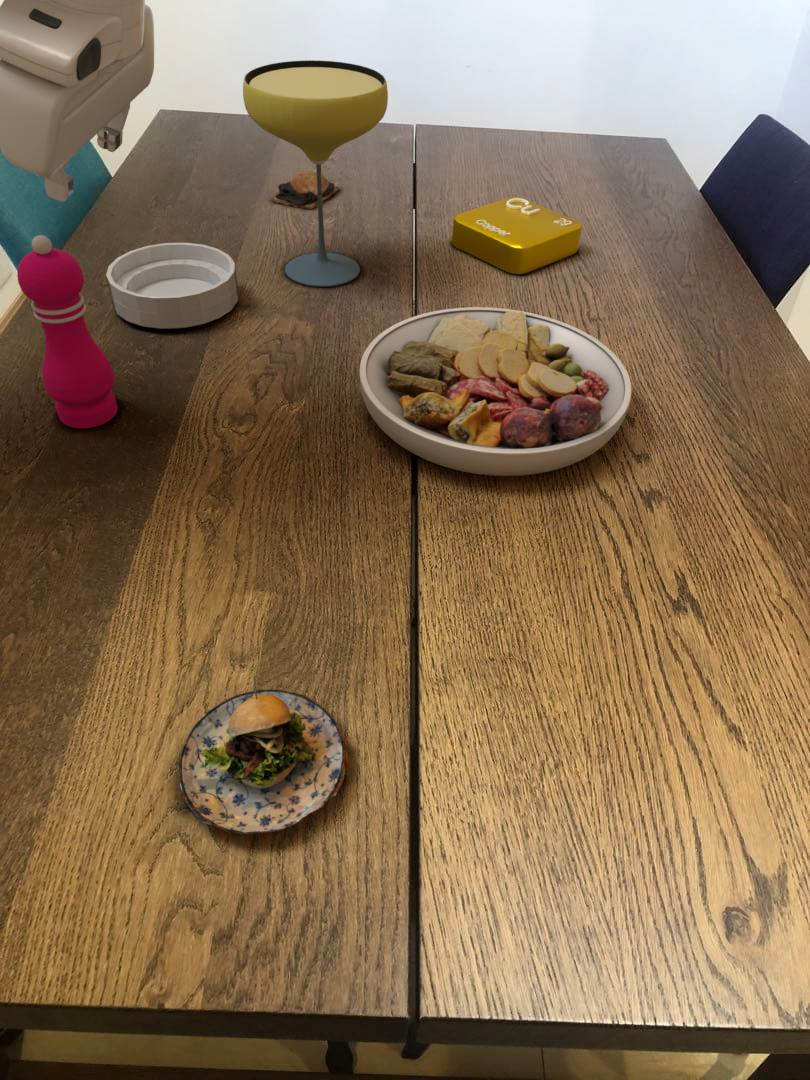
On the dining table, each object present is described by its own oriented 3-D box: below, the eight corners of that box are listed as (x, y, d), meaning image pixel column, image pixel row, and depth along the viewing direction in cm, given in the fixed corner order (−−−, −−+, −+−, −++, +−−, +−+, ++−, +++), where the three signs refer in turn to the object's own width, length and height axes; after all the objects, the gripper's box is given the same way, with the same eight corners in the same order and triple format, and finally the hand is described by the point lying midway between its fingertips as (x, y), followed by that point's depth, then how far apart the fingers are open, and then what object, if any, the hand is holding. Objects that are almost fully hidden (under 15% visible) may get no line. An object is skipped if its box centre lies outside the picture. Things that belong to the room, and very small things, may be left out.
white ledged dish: (107, 336, 103) (98, 299, 100) (122, 278, 115) (114, 244, 111) (237, 331, 105) (233, 295, 101) (239, 275, 117) (235, 241, 113)
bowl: (307, 394, 95) (304, 333, 89) (491, 319, 109) (498, 263, 104) (487, 532, 78) (496, 467, 73) (676, 423, 93) (695, 362, 88)
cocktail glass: (301, 311, 109) (289, 108, 92) (237, 261, 120) (216, 70, 103) (409, 279, 117) (417, 86, 100) (341, 235, 128) (337, 53, 111)
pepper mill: (105, 435, 88) (57, 255, 74) (42, 427, 88) (-17, 247, 75) (132, 398, 93) (92, 224, 79) (72, 391, 94) (22, 217, 80)
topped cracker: (300, 181, 144) (299, 159, 142) (342, 190, 142) (342, 168, 139) (268, 201, 137) (266, 178, 134) (312, 210, 135) (311, 187, 132)
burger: (155, 831, 55) (134, 772, 50) (212, 690, 64) (199, 628, 59) (328, 860, 54) (324, 803, 49) (362, 714, 63) (362, 652, 58)
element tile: (446, 243, 127) (448, 212, 123) (511, 220, 134) (515, 190, 131) (517, 278, 119) (521, 246, 115) (583, 251, 126) (588, 220, 123)
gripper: (107, -51, 69) (105, 107, 80) (-30, 38, 56) (-10, 211, 67) (178, -19, 70) (166, 133, 80) (58, 76, 57) (64, 242, 68)
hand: (85, 170), depth 74 cm, fingers open, 8 cm apart
